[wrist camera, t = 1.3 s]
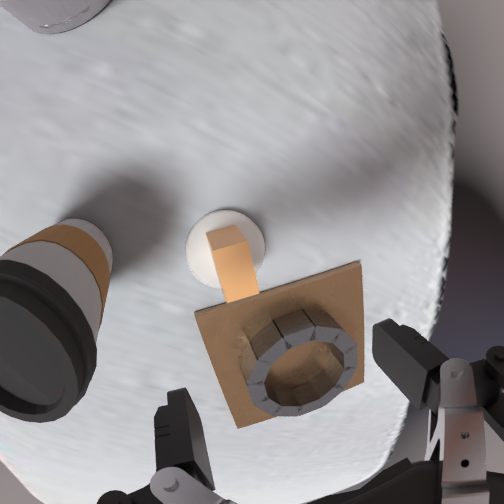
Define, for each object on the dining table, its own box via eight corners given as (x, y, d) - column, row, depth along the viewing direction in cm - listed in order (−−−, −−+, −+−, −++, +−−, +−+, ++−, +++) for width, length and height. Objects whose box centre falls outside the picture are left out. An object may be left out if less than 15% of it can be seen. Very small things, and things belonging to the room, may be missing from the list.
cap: (176, 221, 25) (177, 242, 20) (252, 200, 26) (273, 215, 21) (197, 291, 28) (204, 325, 23) (267, 270, 29) (288, 299, 24)
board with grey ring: (194, 312, 28) (198, 336, 25) (356, 261, 31) (378, 277, 27) (235, 422, 34) (243, 447, 30) (360, 377, 37) (375, 397, 33)
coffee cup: (82, 316, 26) (37, 447, 12) (18, 250, 23) (-78, 344, 9) (146, 259, 26) (128, 382, 12) (79, 183, 22) (-20, 235, 9)
